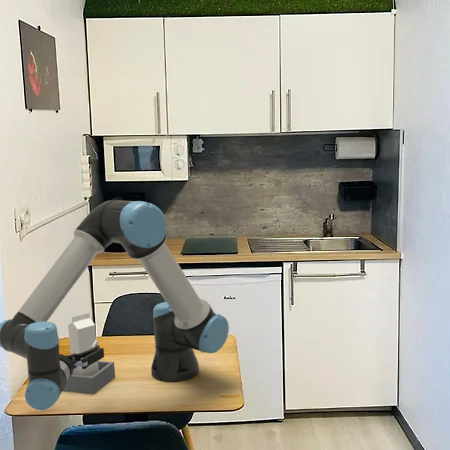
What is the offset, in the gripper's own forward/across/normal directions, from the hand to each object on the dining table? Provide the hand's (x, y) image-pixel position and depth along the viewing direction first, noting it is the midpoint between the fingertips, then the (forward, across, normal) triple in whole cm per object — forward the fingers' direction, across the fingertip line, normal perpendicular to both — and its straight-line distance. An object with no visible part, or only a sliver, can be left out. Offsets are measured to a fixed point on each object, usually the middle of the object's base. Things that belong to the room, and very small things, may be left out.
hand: (73, 345), depth 180 cm
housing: (+10, +1, -16) cm, 19 cm away
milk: (+10, +1, -16) cm, 19 cm away
